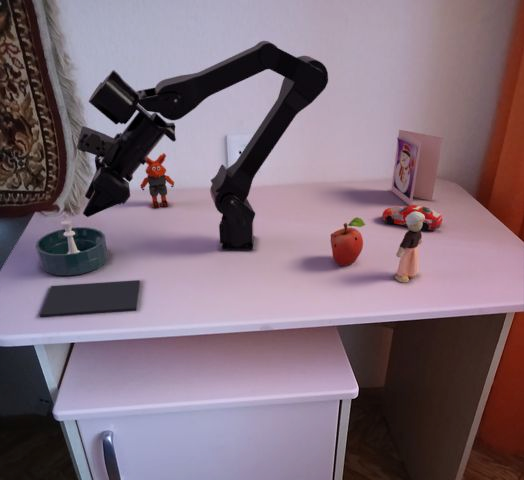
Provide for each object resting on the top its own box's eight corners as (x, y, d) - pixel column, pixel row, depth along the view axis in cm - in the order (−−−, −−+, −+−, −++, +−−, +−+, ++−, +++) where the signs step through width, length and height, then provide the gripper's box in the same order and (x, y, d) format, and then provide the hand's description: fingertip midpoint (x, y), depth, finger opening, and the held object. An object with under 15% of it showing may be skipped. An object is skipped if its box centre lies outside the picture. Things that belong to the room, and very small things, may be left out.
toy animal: (145, 212, 129) (138, 161, 122) (143, 204, 133) (135, 154, 126) (178, 208, 130) (173, 158, 123) (175, 200, 135) (169, 151, 128)
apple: (320, 264, 106) (323, 216, 100) (336, 252, 110) (340, 204, 104) (355, 275, 102) (361, 225, 96) (371, 261, 107) (377, 213, 101)
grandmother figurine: (409, 287, 98) (420, 221, 91) (389, 281, 100) (398, 216, 92) (423, 270, 103) (434, 206, 96) (403, 265, 105) (413, 202, 98)
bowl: (116, 247, 113) (112, 227, 110) (97, 277, 102) (93, 255, 100) (55, 246, 113) (50, 226, 111) (31, 276, 103) (24, 254, 100)
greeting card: (388, 190, 139) (395, 129, 130) (414, 188, 140) (423, 127, 131) (408, 206, 130) (417, 142, 121) (435, 203, 131) (447, 139, 122)
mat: (139, 282, 101) (139, 280, 100) (136, 310, 92) (135, 307, 92) (51, 288, 99) (51, 285, 99) (40, 317, 91) (39, 314, 91)
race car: (378, 222, 122) (380, 205, 120) (386, 214, 126) (388, 198, 124) (436, 234, 117) (439, 216, 114) (442, 225, 121) (446, 208, 118)
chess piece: (81, 266, 105) (69, 217, 99) (58, 264, 106) (45, 216, 100) (92, 255, 109) (82, 208, 103) (70, 253, 110) (58, 206, 104)
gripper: (99, 99, 101) (52, 163, 105) (97, 123, 86) (42, 196, 90) (147, 140, 107) (100, 199, 111) (153, 169, 92) (98, 235, 96)
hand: (86, 206), depth 102 cm, fingers open, 9 cm apart
